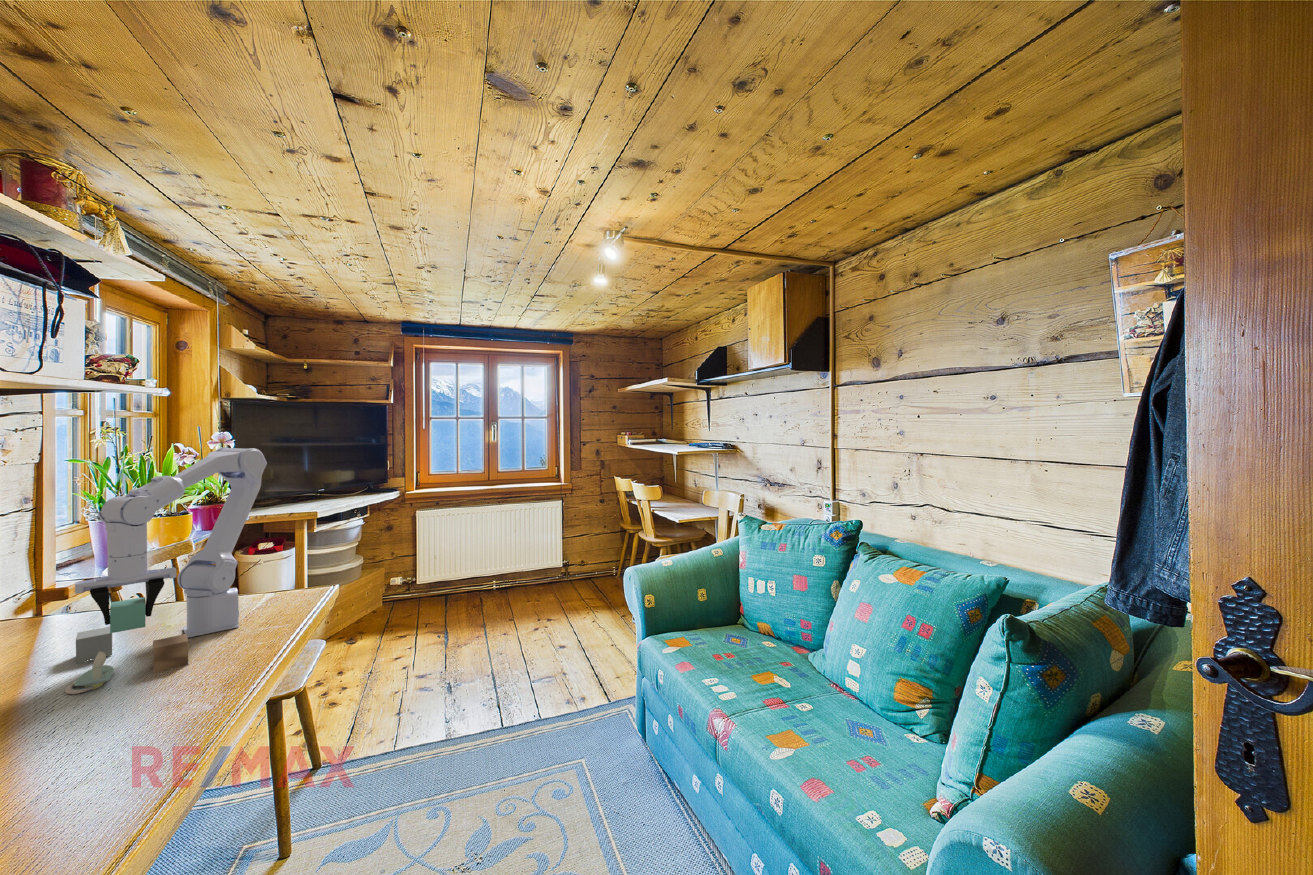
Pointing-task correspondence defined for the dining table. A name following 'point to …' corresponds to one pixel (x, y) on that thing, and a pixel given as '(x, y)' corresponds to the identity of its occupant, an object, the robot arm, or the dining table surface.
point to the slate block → (93, 644)
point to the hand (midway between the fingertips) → (128, 619)
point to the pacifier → (92, 676)
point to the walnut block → (170, 653)
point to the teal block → (127, 615)
